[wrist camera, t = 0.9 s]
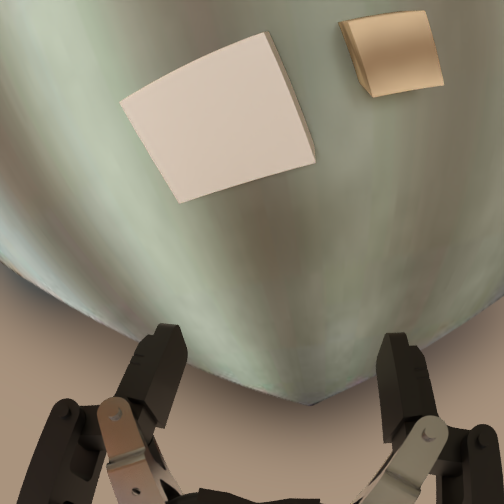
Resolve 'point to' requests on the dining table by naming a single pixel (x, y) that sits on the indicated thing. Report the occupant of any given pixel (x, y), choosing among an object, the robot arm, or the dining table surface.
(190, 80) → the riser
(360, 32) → the maple cube
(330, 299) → the dining table surface
